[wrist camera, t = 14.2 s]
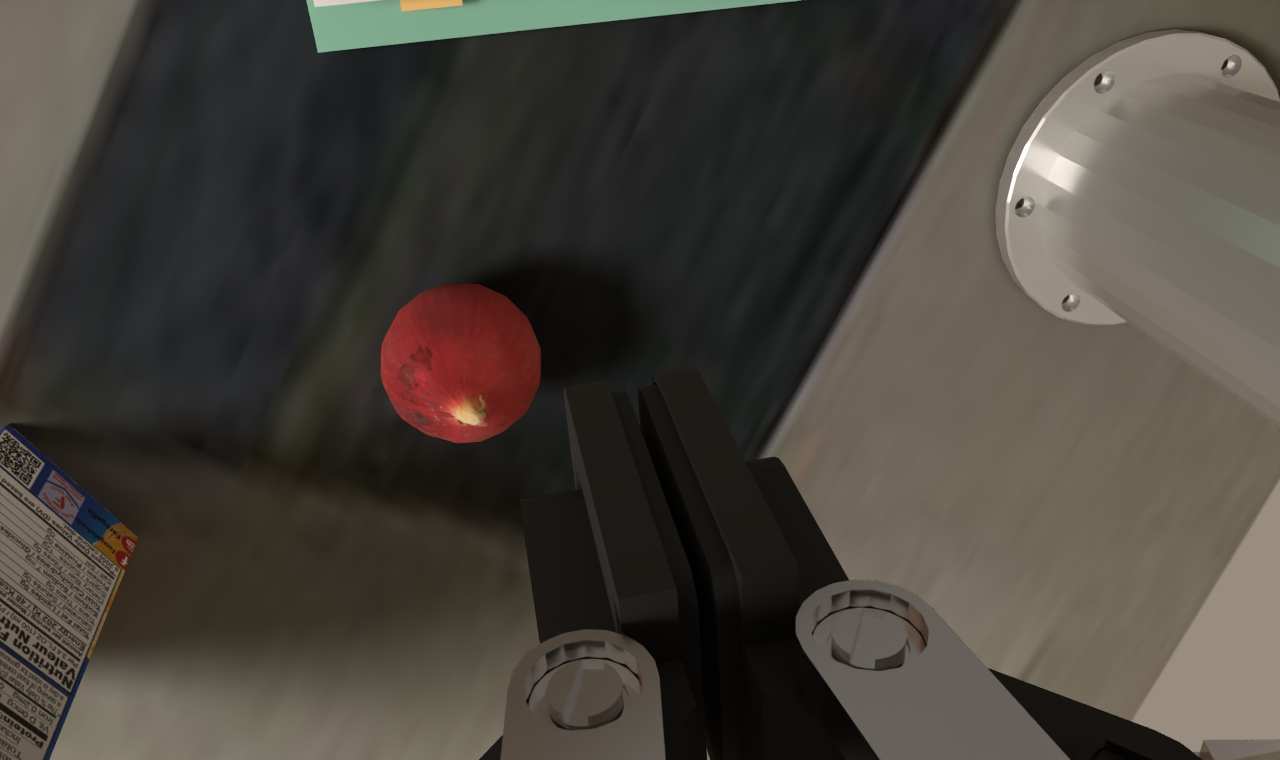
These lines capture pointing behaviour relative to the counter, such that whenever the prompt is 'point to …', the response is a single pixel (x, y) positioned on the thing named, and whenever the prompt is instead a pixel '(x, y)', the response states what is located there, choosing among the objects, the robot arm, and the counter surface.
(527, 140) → the counter surface
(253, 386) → the counter surface
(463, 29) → the board
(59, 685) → the beverage box
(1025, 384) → the counter surface
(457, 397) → the onion
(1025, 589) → the counter surface
